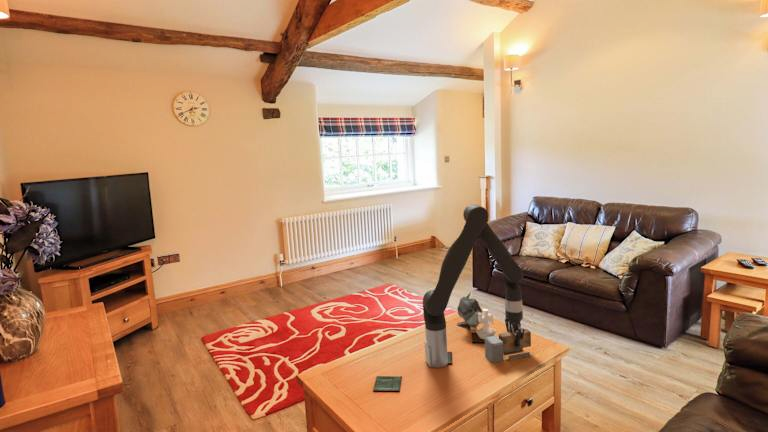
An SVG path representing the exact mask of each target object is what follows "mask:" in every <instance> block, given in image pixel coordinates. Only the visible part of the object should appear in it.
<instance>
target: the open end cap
mask: <svg viewBox="0 0 768 432" xmlns="http://www.w3.org/2000/svg"><path fill="white" fill-rule="evenodd" d="M523 350H524V348H519V349H514V350H509V351H503V355H504V354H508V353H509V354H511V353H514V352H519V351H523ZM530 356H531V352H528V351H527V352H522V353H516V354H512V355H508V360H510V361H511V360H516V359H520V358H521V359H522V358H527V357H530Z"/></svg>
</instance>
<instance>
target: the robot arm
mask: <svg viewBox="0 0 768 432" xmlns="http://www.w3.org/2000/svg"><path fill="white" fill-rule="evenodd" d="M462 216H463V219H464V221H465V223H464V226H463V229H462V230H461V232H460V234H459V236H458V237H457V238H456V239H455V240H454V241H453V243H452V244H451V246H450V247H449V248H448V250H447V252H446V254H445V256H444V258H443V260H442V263H441V267H440V271H439V276H438V280H437V281H438V282H437V284H436V286H435V287H434V289H431V290H427V291H426V292H425V294H424V295H423V298H422V308H423V309H422V311H423V320H424V326H425V328H424V329H425V341H424V352H425V362H426V364H427V366H428V367H429V368H439V369H440V368H445V367H446V366H448V363H449V361H448V360H449V357H448V356H449V355H448V339H447V337H448V336H447V322H446V316H445V311H446V308H447V307H448V304H449V301H450V299H451V295H452V292H453V290H454V288H455V286H456V284H457V282H458V280H459V278H460V276H461V274H462V272H463V270H464V269H465V267H466V264H467V262H468V260H469V257H470V255H471V253H472V251H473V248H474V246H475V244H476V241H477V240H478V238H480V239H481V241H482V243H483V244H484V246H485V247H486V249H487V250H488V252H489V253H490V255H491V257H492V258H493V260H494V261H495V262H496V264H497V265H498V266H499V267H500V268H501V270H502V279H503V284H504V290H505V291H504V293H505V295H504V296H505V301H504V311H505V316H504V317H505V319H504V321H505V322H504V324H505V328H506V332H513V334H514V338H515V339H514V344H515V347H519V346H520V339H523V335H524V331H525V330H524V329H525V328H523V327H521V326H522V323H521V321H522V320H523V319H524V312H523V311H524V310H523V309H524V308H523V295H522V294H523V293H522V288H521V286H520V284H519V283H521V281H523V279H524V271H523V270H522V268H521V267H520V265H519V264H518V263H517V262H516V261H515V259H514V258H513V257H512V255H511V253H510V251H509V250H508V249H507V247H506V245H505V243H503V241H502V240H501V239H500V237H498V236H497V234H496V233H495V232H494V230H493V229H492V227H491V226H490V225H489V223H488V221H489V212H488V210H487V209H486V208H485V207H483V206H481V205H479V204H469V205H468V206H466V207H465V209H464V210H463V215H462ZM515 331H517V332H515ZM516 334H517V336H516Z"/></svg>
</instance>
